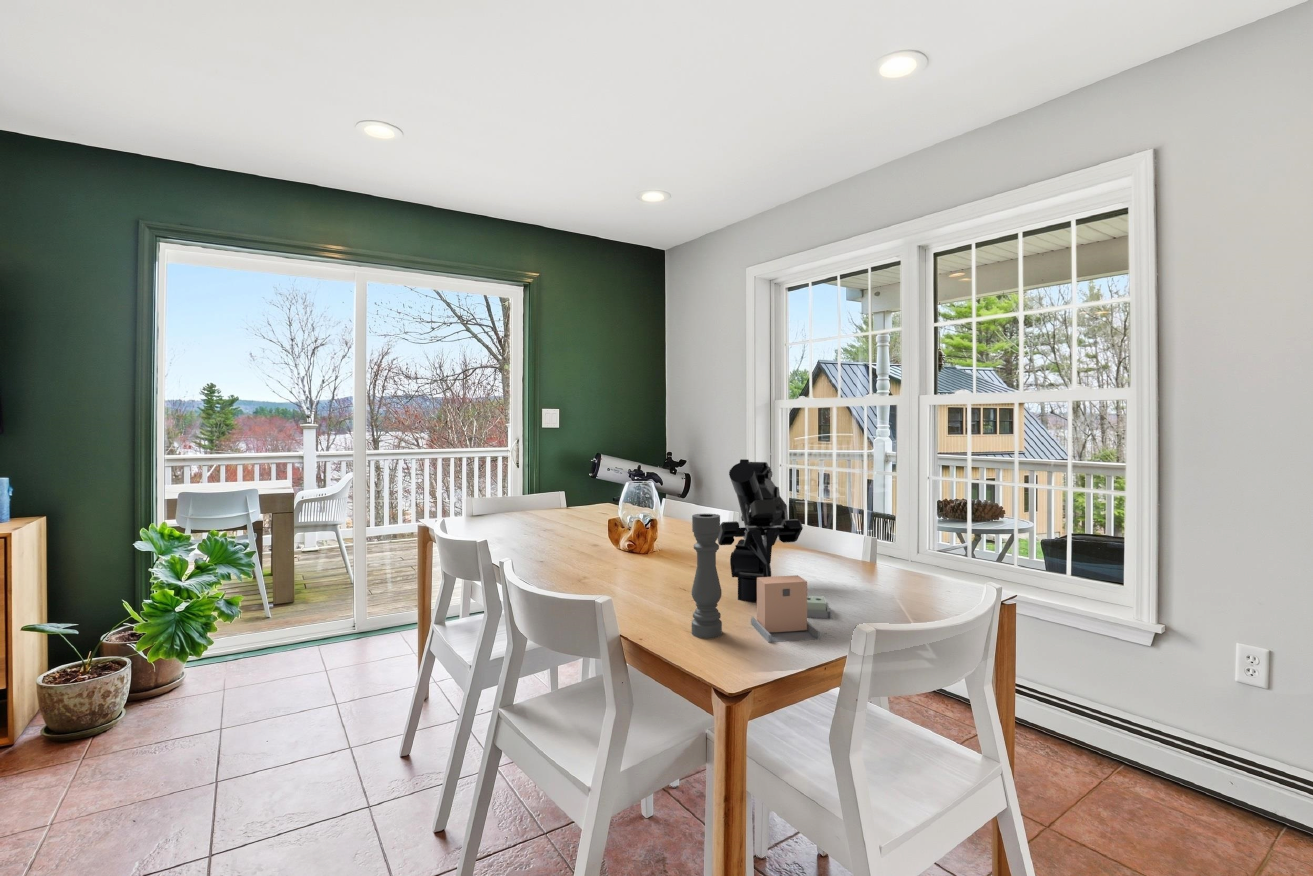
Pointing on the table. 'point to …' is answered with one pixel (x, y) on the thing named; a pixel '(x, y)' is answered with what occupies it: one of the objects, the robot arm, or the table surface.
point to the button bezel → (820, 613)
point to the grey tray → (787, 633)
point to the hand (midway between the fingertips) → (768, 564)
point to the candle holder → (706, 577)
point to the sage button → (816, 603)
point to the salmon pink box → (782, 603)
